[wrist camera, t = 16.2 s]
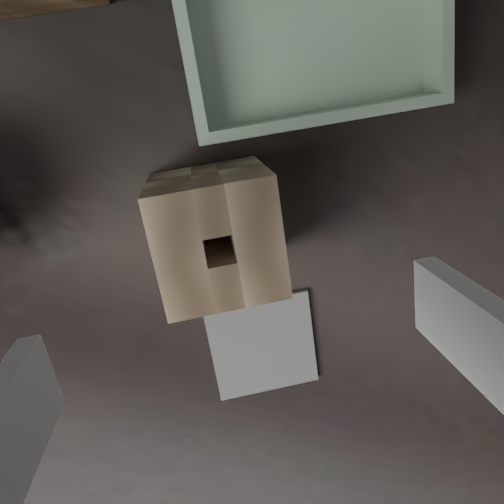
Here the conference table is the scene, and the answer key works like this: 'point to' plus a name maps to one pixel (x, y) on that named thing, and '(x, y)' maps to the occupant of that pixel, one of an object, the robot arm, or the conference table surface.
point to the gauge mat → (263, 346)
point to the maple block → (216, 237)
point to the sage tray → (311, 62)
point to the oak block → (43, 6)
